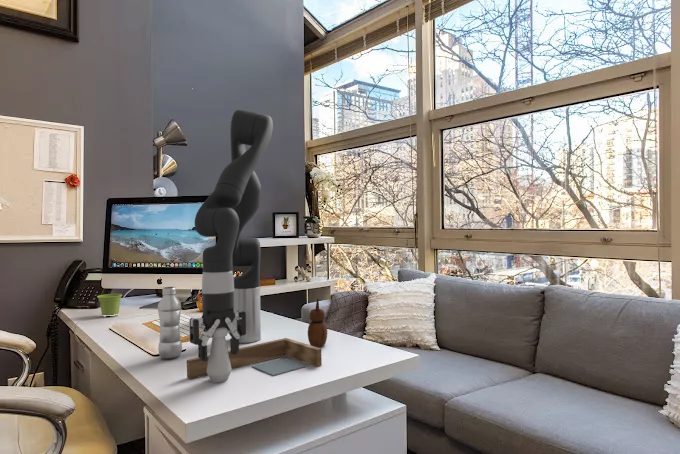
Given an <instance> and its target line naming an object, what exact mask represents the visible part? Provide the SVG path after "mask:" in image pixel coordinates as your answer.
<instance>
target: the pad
mask: <svg viewBox="0 0 680 454" xmlns="http://www.w3.org/2000/svg"><path fill="white" fill-rule="evenodd" d="M251 368H253V369H255V370H257V371H259V372H263V373H265V374H267V375H270V376H272V377H275V376H279V375H283V374H286V373H290V372H293V371H296V370H299V369H303V368H306V366H305V365H304V364H300V363H297V362H295V361H292V360H289V359H286V358H285V357H283V358H282V357H281V358H278V359H277V358H276V359H275V360H269V361H265V362H263V363H262V362H261V363H259V364H254V365H251Z"/></svg>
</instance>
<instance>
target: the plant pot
mask: <svg viewBox="0 0 680 454" xmlns="http://www.w3.org/2000/svg"><path fill="white" fill-rule="evenodd" d="M122 296H123V294H122V293H108V294H100V295H97V296H96V297H97V299H98V301H99V305H100V310H101V316H102V315H114V314H118V313H120V306H121V305H120V304H121V300H122Z"/></svg>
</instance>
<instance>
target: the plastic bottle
mask: <svg viewBox="0 0 680 454" xmlns="http://www.w3.org/2000/svg"><path fill="white" fill-rule="evenodd" d="M161 294H162V298H161V299H160V300H159V302H158V304H157V313H158V319H159V329H160V330H159V343H158V346H157V347H158V348H157V350H158V355H159V357H160V358H161V359H174V358H179V357H180V355H181V354H182V351H183V343H182V340H181V327H180V322H181V320H180V319H181V310H182V304H181V301H180V299H179V298H178V297H177V296H176V295H177V287H176V286H165V287H162V293H161Z"/></svg>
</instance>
